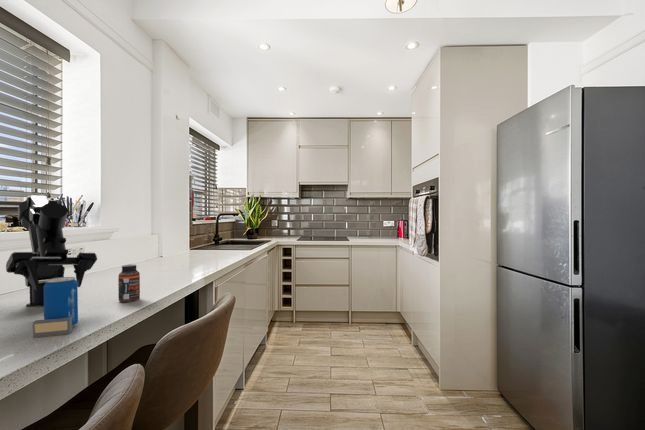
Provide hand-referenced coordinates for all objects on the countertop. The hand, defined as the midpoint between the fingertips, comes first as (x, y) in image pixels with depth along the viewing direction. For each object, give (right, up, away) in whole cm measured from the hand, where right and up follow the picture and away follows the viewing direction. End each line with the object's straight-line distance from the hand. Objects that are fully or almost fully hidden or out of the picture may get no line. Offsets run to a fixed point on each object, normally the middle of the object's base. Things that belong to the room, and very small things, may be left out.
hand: (59, 287), depth 87 cm
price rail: (+7, -8, -11) cm, 16 cm away
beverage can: (+6, -9, -6) cm, 12 cm away
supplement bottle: (+8, -8, +19) cm, 22 cm away
